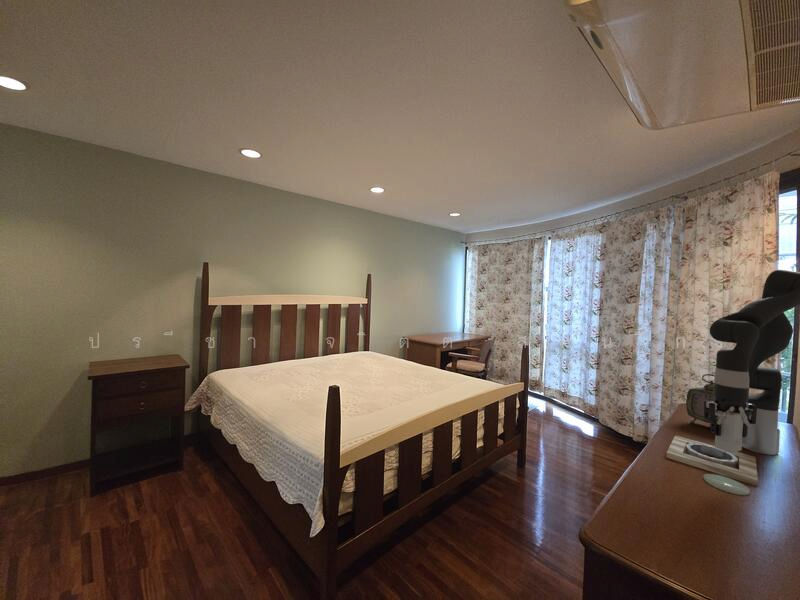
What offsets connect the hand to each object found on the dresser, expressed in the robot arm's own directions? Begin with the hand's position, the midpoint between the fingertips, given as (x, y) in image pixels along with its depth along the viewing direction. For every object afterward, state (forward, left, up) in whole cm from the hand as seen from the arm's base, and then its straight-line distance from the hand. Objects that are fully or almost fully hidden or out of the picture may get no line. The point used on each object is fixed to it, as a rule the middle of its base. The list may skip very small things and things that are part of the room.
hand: (728, 435), depth 97 cm
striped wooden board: (-10, -16, -16) cm, 25 cm away
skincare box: (0, 0, -5) cm, 5 cm away
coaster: (0, 0, -16) cm, 16 cm away
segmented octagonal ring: (-10, -16, -16) cm, 25 cm away
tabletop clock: (-38, -47, -16) cm, 62 cm away
